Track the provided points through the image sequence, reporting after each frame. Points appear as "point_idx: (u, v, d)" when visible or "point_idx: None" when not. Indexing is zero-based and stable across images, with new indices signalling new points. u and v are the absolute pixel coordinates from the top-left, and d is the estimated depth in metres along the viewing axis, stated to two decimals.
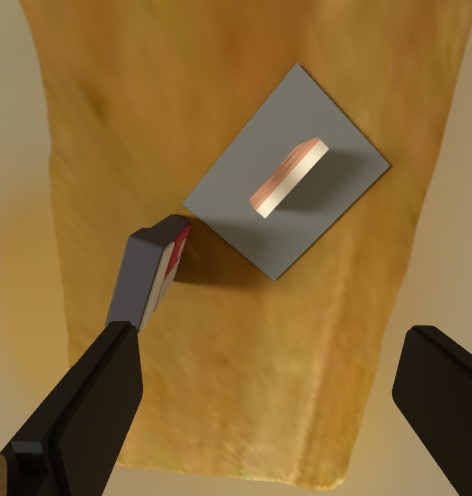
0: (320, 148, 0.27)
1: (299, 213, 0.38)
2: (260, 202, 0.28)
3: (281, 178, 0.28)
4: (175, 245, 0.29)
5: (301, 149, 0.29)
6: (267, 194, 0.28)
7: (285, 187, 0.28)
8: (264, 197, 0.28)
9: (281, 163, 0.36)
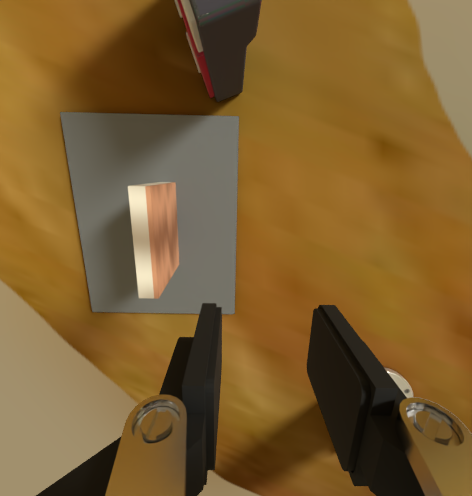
0: (146, 292, 0.23)
1: (117, 212, 0.30)
2: (149, 198, 0.20)
3: (152, 239, 0.21)
4: (195, 49, 0.17)
5: (165, 273, 0.25)
6: (150, 213, 0.21)
7: (140, 235, 0.21)
8: (150, 207, 0.21)
9: None
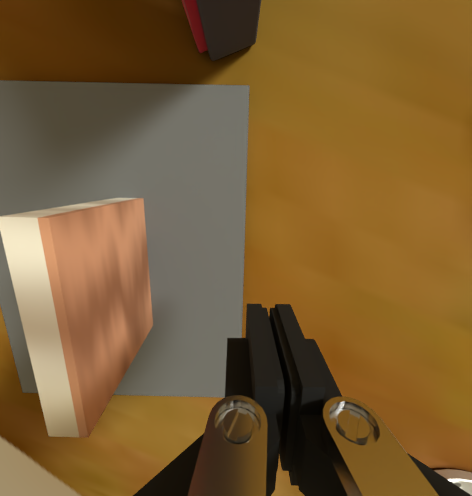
0: (62, 426, 0.11)
1: None
2: (48, 245, 0.09)
3: (66, 329, 0.10)
4: None
5: (114, 367, 0.14)
6: (55, 276, 0.09)
7: (38, 320, 0.10)
8: (54, 264, 0.09)
9: (149, 289, 0.19)
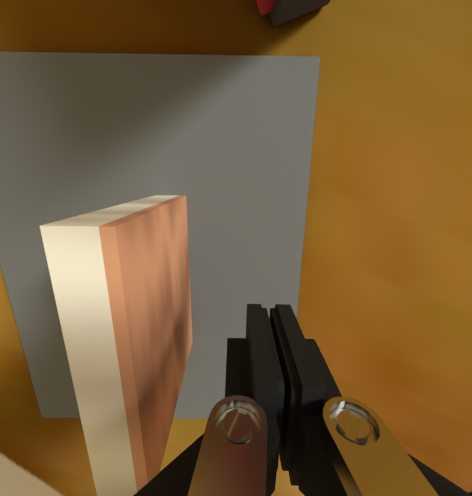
0: (117, 494, 0.09)
1: None
2: (113, 266, 0.06)
3: (130, 377, 0.07)
4: None
5: (168, 405, 0.11)
6: (119, 307, 0.07)
7: (92, 366, 0.07)
8: (119, 290, 0.06)
9: (190, 301, 0.16)
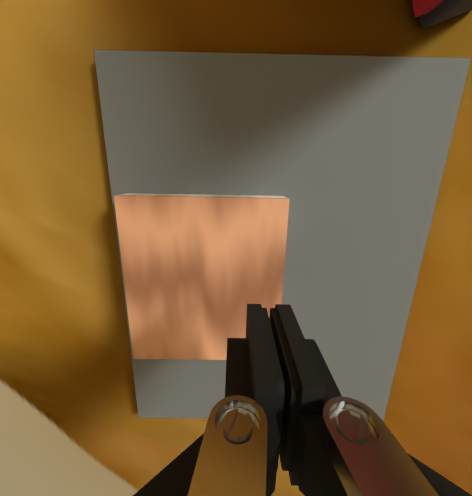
0: None
1: None
2: None
3: None
4: None
5: (177, 340, 0.15)
6: (119, 236, 0.14)
7: None
8: (119, 227, 0.13)
9: None
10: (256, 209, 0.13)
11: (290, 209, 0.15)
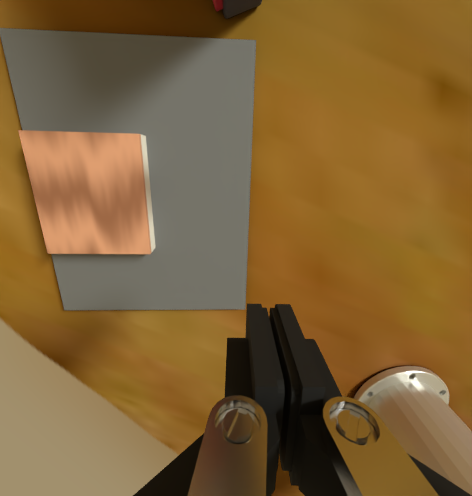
0: None
1: None
2: None
3: (33, 189, 0.21)
4: None
5: (77, 239, 0.22)
6: None
7: None
8: (25, 154, 0.20)
9: (145, 220, 0.22)
10: (117, 141, 0.20)
11: (152, 146, 0.21)
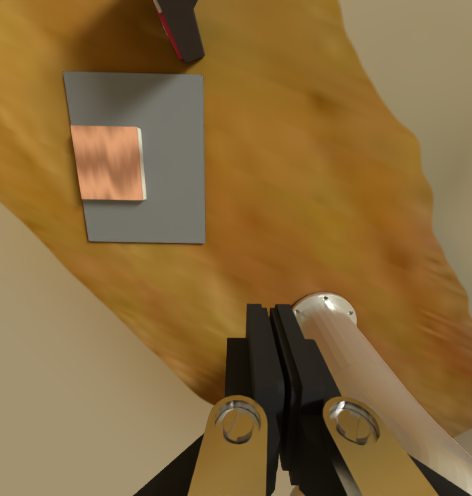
0: None
1: None
2: (72, 133, 0.35)
3: (76, 159, 0.36)
4: (158, 11, 0.25)
5: (99, 190, 0.37)
6: None
7: None
8: (73, 138, 0.35)
9: (139, 178, 0.36)
10: (124, 131, 0.35)
11: (144, 134, 0.36)
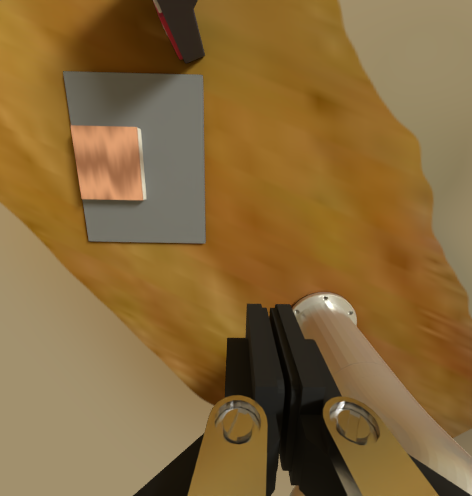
0: None
1: None
2: (72, 133, 0.35)
3: (76, 159, 0.36)
4: (158, 11, 0.25)
5: (99, 190, 0.37)
6: None
7: None
8: (73, 138, 0.35)
9: (139, 178, 0.36)
10: (124, 131, 0.35)
11: (144, 135, 0.36)
